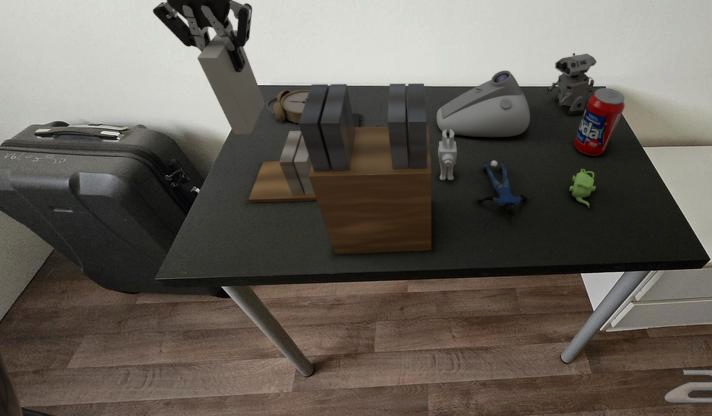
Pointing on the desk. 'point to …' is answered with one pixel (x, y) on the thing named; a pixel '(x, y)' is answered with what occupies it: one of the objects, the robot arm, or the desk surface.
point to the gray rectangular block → (232, 86)
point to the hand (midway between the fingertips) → (229, 69)
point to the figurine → (574, 82)
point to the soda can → (599, 121)
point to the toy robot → (447, 155)
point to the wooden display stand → (285, 175)
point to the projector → (487, 109)
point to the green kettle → (582, 186)
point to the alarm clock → (289, 105)
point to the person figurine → (502, 189)
